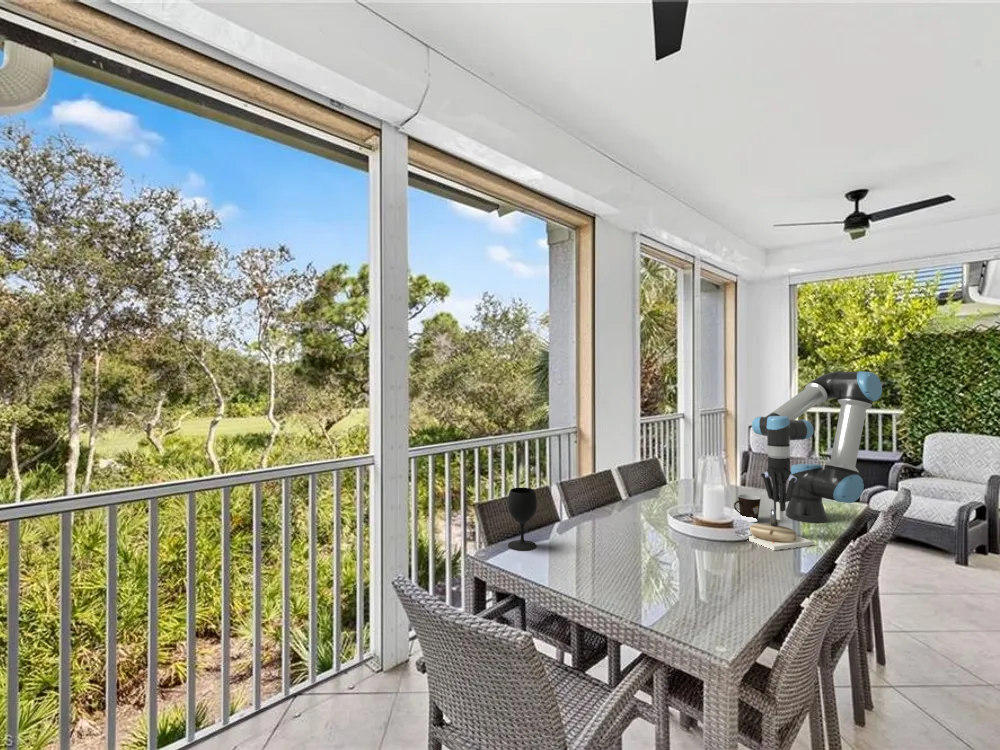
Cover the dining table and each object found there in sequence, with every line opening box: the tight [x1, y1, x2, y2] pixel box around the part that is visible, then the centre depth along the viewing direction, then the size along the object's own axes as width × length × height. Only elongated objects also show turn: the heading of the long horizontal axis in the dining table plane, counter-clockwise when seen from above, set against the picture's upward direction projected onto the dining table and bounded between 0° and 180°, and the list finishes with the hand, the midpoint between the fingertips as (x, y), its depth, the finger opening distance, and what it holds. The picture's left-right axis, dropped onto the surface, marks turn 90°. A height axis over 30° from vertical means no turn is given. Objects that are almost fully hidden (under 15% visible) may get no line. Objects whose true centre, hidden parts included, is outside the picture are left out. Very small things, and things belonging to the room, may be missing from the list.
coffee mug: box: [733, 494, 762, 520], centre depth 211 cm, size 12×9×10 cm
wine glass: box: [507, 487, 538, 552], centre depth 179 cm, size 10×10×20 cm
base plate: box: [748, 535, 814, 551], centre depth 186 cm, size 18×18×2 cm
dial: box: [749, 508, 797, 542], centre depth 186 cm, size 15×15×8 cm
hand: (779, 518), depth 190 cm, fingers closed
